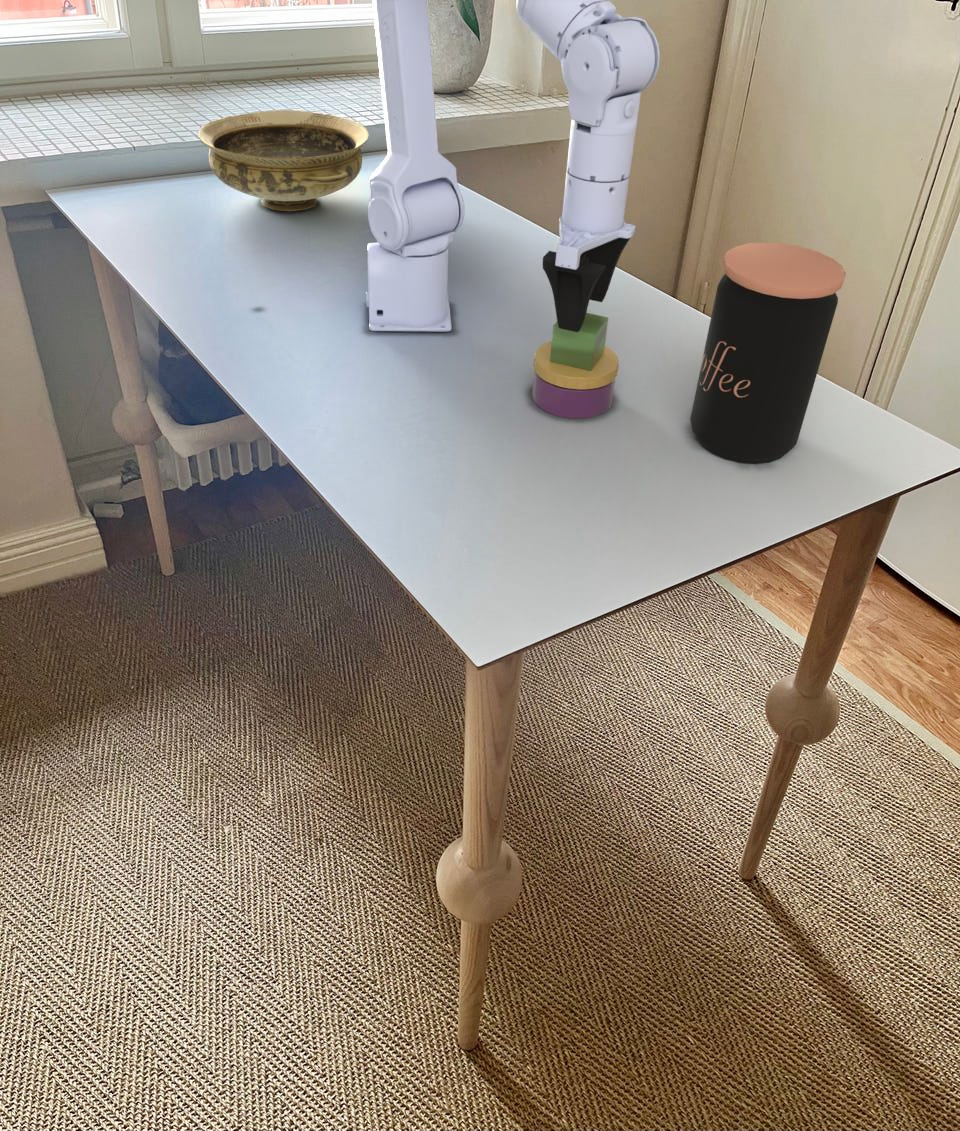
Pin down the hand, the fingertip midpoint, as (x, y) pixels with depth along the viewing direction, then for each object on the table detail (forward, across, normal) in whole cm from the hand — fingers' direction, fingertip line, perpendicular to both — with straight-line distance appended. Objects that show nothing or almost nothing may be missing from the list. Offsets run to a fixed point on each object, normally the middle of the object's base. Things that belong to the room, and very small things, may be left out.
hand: (581, 313), depth 97 cm
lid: (+5, 0, 0) cm, 5 cm away
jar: (+10, 0, 0) cm, 10 cm away
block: (+5, 0, 0) cm, 5 cm away
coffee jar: (+10, 0, -18) cm, 20 cm away
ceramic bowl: (+10, +37, +56) cm, 68 cm away
